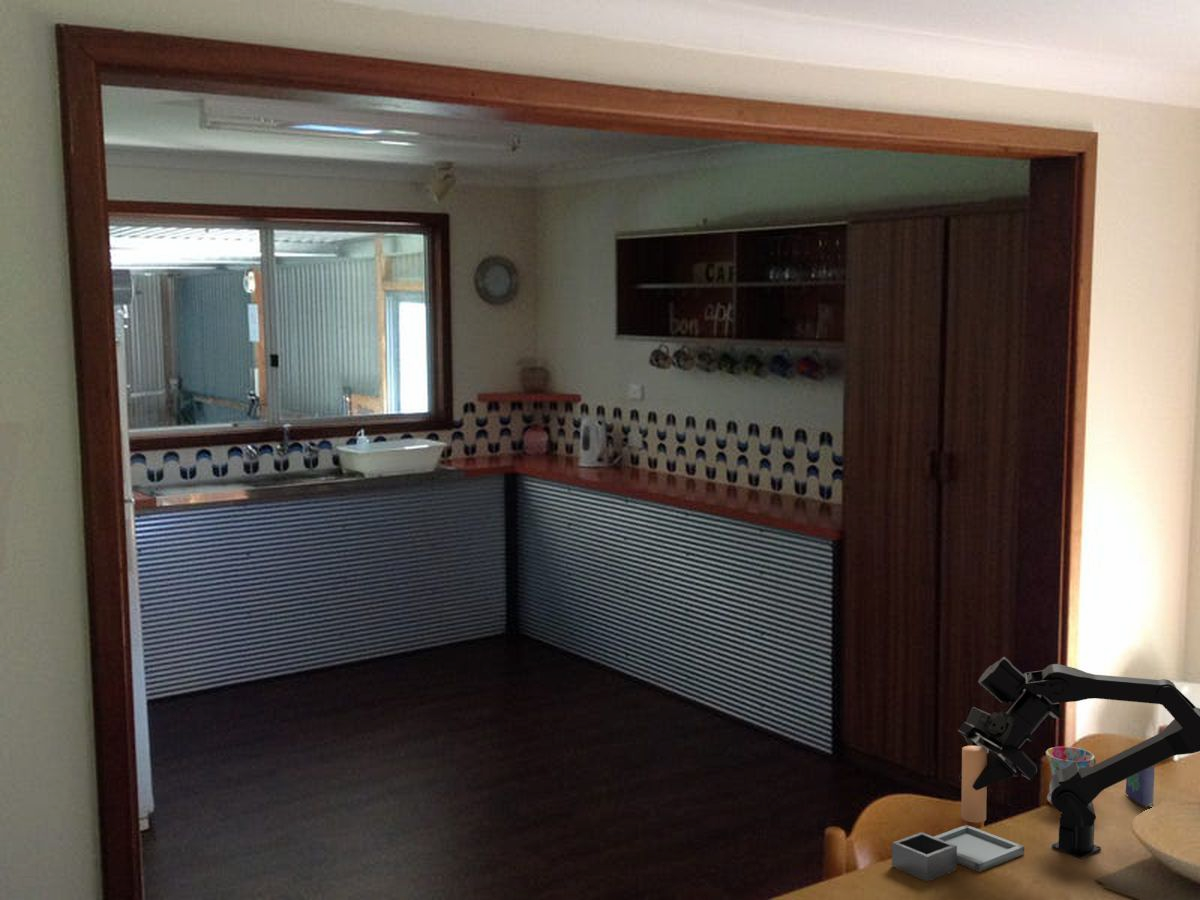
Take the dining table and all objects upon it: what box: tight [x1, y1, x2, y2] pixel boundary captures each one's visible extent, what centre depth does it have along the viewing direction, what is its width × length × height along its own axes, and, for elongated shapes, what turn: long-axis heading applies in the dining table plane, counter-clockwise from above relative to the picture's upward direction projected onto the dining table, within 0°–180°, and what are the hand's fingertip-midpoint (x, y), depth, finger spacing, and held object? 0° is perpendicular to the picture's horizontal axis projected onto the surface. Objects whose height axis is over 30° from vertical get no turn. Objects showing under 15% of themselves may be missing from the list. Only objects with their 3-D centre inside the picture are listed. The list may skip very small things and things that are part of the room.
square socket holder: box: [891, 831, 958, 883], centre depth 232 cm, size 8×8×4 cm
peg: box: [960, 745, 988, 824], centre depth 238 cm, size 4×4×13 cm
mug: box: [1045, 746, 1097, 805], centre depth 262 cm, size 12×9×11 cm
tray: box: [933, 824, 1025, 873], centre depth 239 cm, size 13×13×2 cm
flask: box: [1124, 765, 1156, 809], centre depth 263 cm, size 9×3×11 cm, turn 2°
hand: (967, 784), depth 237 cm, fingers closed on peg, 4 cm apart
